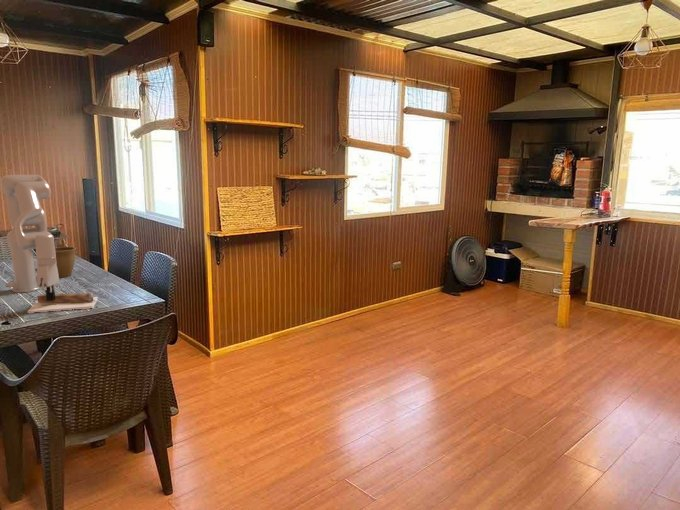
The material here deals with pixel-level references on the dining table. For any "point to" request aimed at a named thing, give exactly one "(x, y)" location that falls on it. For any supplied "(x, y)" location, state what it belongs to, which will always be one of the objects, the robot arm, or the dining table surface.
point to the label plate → (61, 306)
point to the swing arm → (67, 297)
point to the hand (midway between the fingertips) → (51, 300)
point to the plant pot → (65, 260)
